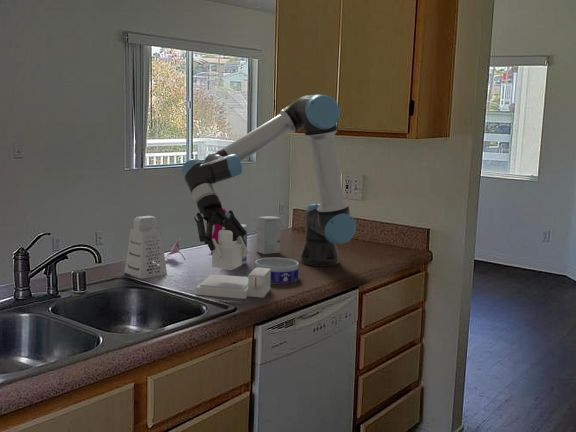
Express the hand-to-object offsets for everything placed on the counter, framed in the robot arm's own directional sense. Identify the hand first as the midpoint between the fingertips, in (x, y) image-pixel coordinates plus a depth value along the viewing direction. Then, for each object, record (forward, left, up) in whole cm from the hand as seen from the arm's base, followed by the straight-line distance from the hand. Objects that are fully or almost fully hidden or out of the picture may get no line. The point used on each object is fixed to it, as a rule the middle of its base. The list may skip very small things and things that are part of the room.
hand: (232, 256), depth 205 cm
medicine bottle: (+2, -2, -4) cm, 5 cm away
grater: (+35, -14, -12) cm, 40 cm away
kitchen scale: (0, -2, -12) cm, 12 cm away
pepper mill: (+21, -56, -12) cm, 61 cm away
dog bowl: (-10, -22, -12) cm, 27 cm away
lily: (+33, -37, -12) cm, 51 cm away
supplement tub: (+10, -39, -12) cm, 42 cm away
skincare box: (+2, -63, -12) cm, 64 cm away
